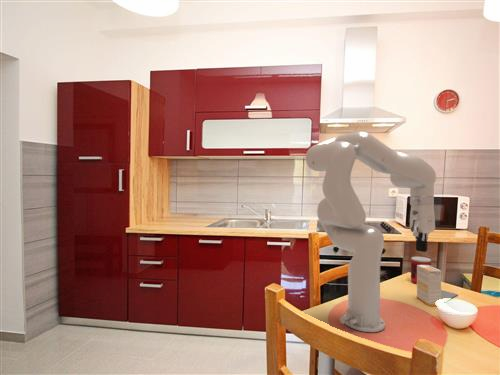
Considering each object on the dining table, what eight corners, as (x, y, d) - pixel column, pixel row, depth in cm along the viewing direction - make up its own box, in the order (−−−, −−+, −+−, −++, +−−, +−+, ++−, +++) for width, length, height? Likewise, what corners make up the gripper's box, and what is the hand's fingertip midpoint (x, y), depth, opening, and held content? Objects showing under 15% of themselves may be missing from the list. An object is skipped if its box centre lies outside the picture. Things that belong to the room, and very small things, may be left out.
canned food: (434, 284, 133) (435, 259, 132) (422, 286, 130) (422, 261, 129) (419, 279, 140) (419, 255, 139) (407, 281, 137) (407, 257, 137)
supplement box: (441, 306, 109) (442, 270, 109) (428, 306, 109) (428, 270, 109) (428, 297, 117) (428, 264, 117) (416, 297, 117) (416, 264, 117)
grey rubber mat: (444, 302, 112) (444, 301, 112) (422, 295, 119) (422, 294, 119) (457, 295, 119) (457, 294, 119) (436, 289, 126) (436, 288, 126)
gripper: (422, 202, 102) (422, 256, 102) (442, 200, 110) (441, 250, 111) (401, 201, 108) (400, 252, 108) (420, 199, 116) (420, 246, 117)
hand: (421, 250), depth 109 cm, fingers closed
